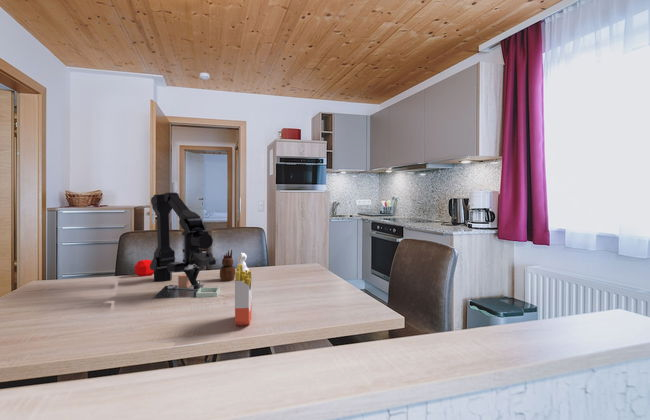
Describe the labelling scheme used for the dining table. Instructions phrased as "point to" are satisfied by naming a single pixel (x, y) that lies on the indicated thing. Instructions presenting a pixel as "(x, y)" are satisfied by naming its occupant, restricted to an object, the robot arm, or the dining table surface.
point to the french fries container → (243, 296)
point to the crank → (196, 287)
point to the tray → (208, 289)
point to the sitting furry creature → (242, 261)
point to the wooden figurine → (227, 268)
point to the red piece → (143, 268)
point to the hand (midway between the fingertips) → (192, 285)
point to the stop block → (183, 281)
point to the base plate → (176, 293)
